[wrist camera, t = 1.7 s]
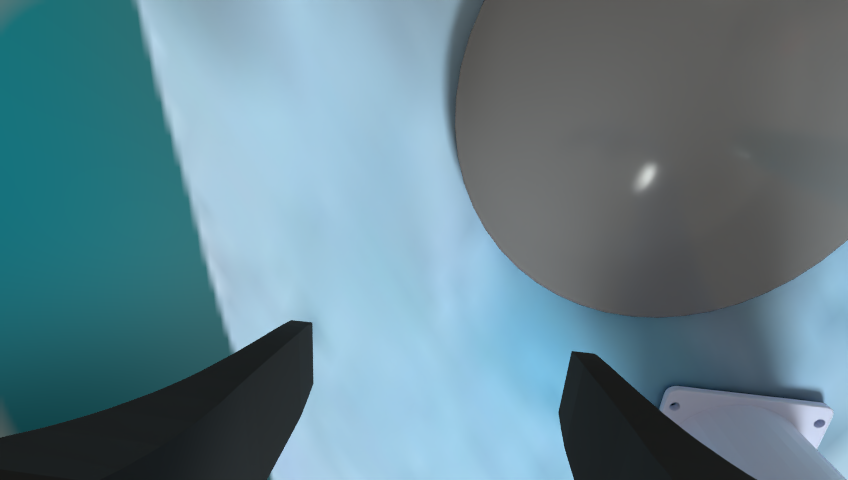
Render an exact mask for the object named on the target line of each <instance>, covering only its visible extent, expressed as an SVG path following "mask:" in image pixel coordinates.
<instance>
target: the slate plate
mask: <svg viewBox="0 0 848 480" xmlns="http://www.w3.org/2000/svg"><path fill="white" fill-rule="evenodd" d="M455 132H456V142H457V152H458V159H459V163H460V167H461V172H462V176H463V180H464V184H465V186H466V189H467V192H468V194H469V197H470V200H471V202H472V205H473V207H474V209H475V211H476V213H477V215H478V217H479V218H480V220H481V222H482V224H483V226H484V228H485V230H486V231H487V232H488V234H489V235H490V236H491V238H492V239H493V240H494V242H495V243H496V245H497V246H498V247H499V249H500V250H501V251H502V252H503V253H504V254H505V255H506V256H507V257H508V258H509V259H510V260H511V261H512V262H513V263H514V264H515V265H516V266H517V267H518V268H519V269H520V270H521V271H523V272H524V273H525V274H526V275H528V276H529V277H530V278H531V279H533V280H534V281H535V282H537V283H538V284H540V285H542V286H543V287H545V288H547V289H548V290H550V291H552V292H553V293H555V294H557V295H559V296H561V297H563V298H566V299H568V300H570V301H572V302H575V303H577V304H579V305H582V306H586V307H589V308H593V309H596V310H599V311H603V312H607V313H613V314H619V315H625V316H634V317H655V318H658V317H674V316H686V315H692V314H698V313H704V312H710V311H714V310H718V309H721V308H725V307H728V306H732V305H736V304H739V303H742V302H744V301H747V300H749V299H752V298H754V297H757V296H760V295H762V294H765V293H767V292H769V291H771V290H773V289H775V288H777V287H779V286H781V285H783V284H785V283H787V282H789V281H791V280H793V279H794V278H796V277H798V276H799V275H801V274H802V273H804V272H805V271H807V270H808V269H810V268H812V267H813V266H815V265H816V264H818V263H819V262H821V261H822V260H823V259H825V258H826V257H827V256H828V255H830V254H831V253H832V252H833V251H835V250H836V249H837V248H838V247H840V246H841V245H842V244H844V243H845V242H846V241H847V240H848V0H485V1H484V2H483V4H482V7H481V9H480V12H479V14H478V16H477V19H476V21H475V24H474V26H473V28H472V31H471V33H470V36H469V39H468V43H467V47H466V50H465V54H464V57H463V61H462V64H461V69H460V75H459V81H458V88H457V94H456V114H455Z"/></svg>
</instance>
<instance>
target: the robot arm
mask: <svg viewBox="0 0 848 480" xmlns="http://www.w3.org/2000/svg"><path fill="white" fill-rule="evenodd" d="M312 385H313V338H312V323H311V322H302V321H293V320H291V321H289V322H287V323H285V324H283V325H281V326H280V327H278V328H276V329H275V330H273V331H271V332H270V333H268V334H266V335H265V336H263V337H261V338H260V339H258V340H256V341H255V342H253V343H251V344H249V345H248V346H246V347H244V348H243V349H241V350H239V351H238V352H236V353H234V354H232V355H230V356H228V357H227V358H225V359H223V360H221V361H219V362H217V363H215V364H213V365H212V366H210V367H208V368H206V369H204V370H202V371H200V372H198V373H196V374H194V375H192V376H190V377H188V378H186V379H184V380H182V381H179V382H177V383H174V384H172V385H170V386H168V387H165V388H163V389H161V390H158V391H156V392H153V393H151V394H148V395H145V396H142V397H140V398H137V399H134V400H131V401H129V402H126V403H123V404H121V405H118V406H115V407H112V408H109V409H106V410H103V411H100V412H97V413H94V414H90V415H87V416H84V417H81V418H77V419H73V420H70V421H66V422H63V423H59V424H56V425H52V426H48V427H45V428H40V429H36V430H32V431H28V432H23V433H19V434H14V435H10V436H6V437H2V438H0V480H267V478H268V477H269V475H270V473H271V471H272V469H273V467H274V465H275V464H276V462H277V460H278V458H279V456H280V454H281V452H282V451H283V449H284V447H285V445H286V443H287V441H288V440H289V438H290V436H291V434H292V432H293V430H294V428H295V426H296V424H297V423H298V421H299V419H300V417H301V415H302V412H303V409H304V407H305V404H306V402H307V399H308V396H309V394H310V391H311V388H312ZM675 402H676V404H674V405H671V404H672V403H675ZM670 405H671V406H670ZM833 414H834V412H833V410H832V409H831V408H830V407H829V406H828V405H826V404H825V403H822V402H813V401H804V400H796V399H787V398H778V397H769V396H761V395H752V394H743V393H735V392H726V391H717V390H708V389H700V388H691V387H682V386H672V387H669V388H668V389H667V390H666V391H665V393H664V396H663V399H662V402H661V405H660V408H659V409H658V408H656V407H655V406H654V405H653V404H652V403H650V402H649V401H648V400H647V399H646V398H645V397H644V396H642V395H641V394H640V393H639V392H638V391H637V390H636V389H634V388H633V387H632V386H631V385H630V384H629V383H628V382H627V381H625V380H624V379H623V378H622V377H621V376H620V375H619V374H618V373H617V372H616V371H614V370H613V369H612V368H611V367H610V366H609V365H608V364H607V363H605V362H604V361H603V360H602V359H601V358H600V357H598V356H597V355H596V354H592V353H583V352H574V351H572V353H571V357H570V362H569V367H568V371H567V376H566V380H565V385H564V390H563V394H562V399H561V403H560V408H559V418H560V425H561V431H562V436H563V442H564V447H565V451H566V454H567V458H568V461H569V464H570V468H571V471H572V474H573V477H574V480H846V479H845V478H844V477H843V476H842V475H841V473H840V472H839V471H838V470H837V469H836V468H835V467H834V466H833V465H832V464H831V463H830V462H829V461H828V460H827V459H826V458H825V457H824V456H823V455H822V454H821V453H820V452H819V451H818V450H817V448H818V446H819V444H820V442H821V440H822V438H823V436H824V434H825V432H826V430H827V428H828V426H829V423H830V421H831V419H832V417H833ZM816 420H817V421H816Z"/></svg>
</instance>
